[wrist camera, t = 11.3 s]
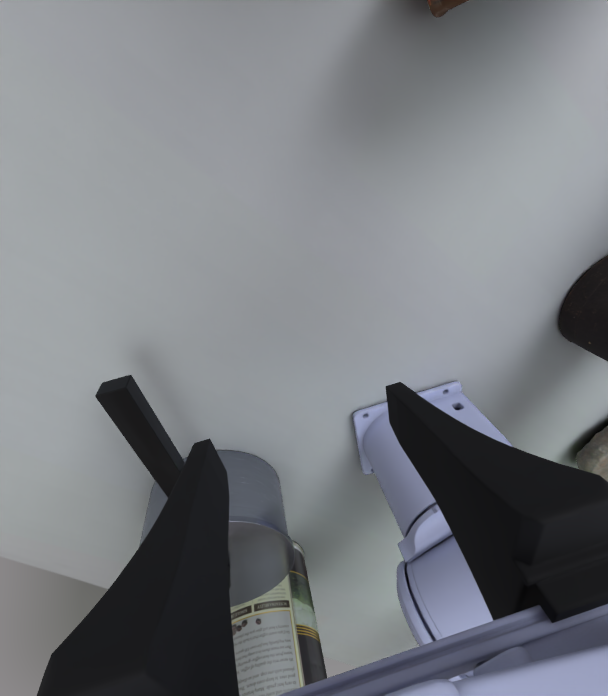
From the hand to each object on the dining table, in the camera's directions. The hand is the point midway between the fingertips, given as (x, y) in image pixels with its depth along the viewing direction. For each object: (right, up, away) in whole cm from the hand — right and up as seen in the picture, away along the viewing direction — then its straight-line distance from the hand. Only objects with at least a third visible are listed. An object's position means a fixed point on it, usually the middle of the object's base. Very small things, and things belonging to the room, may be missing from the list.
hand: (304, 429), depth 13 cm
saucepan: (-9, -6, +14) cm, 17 cm away
